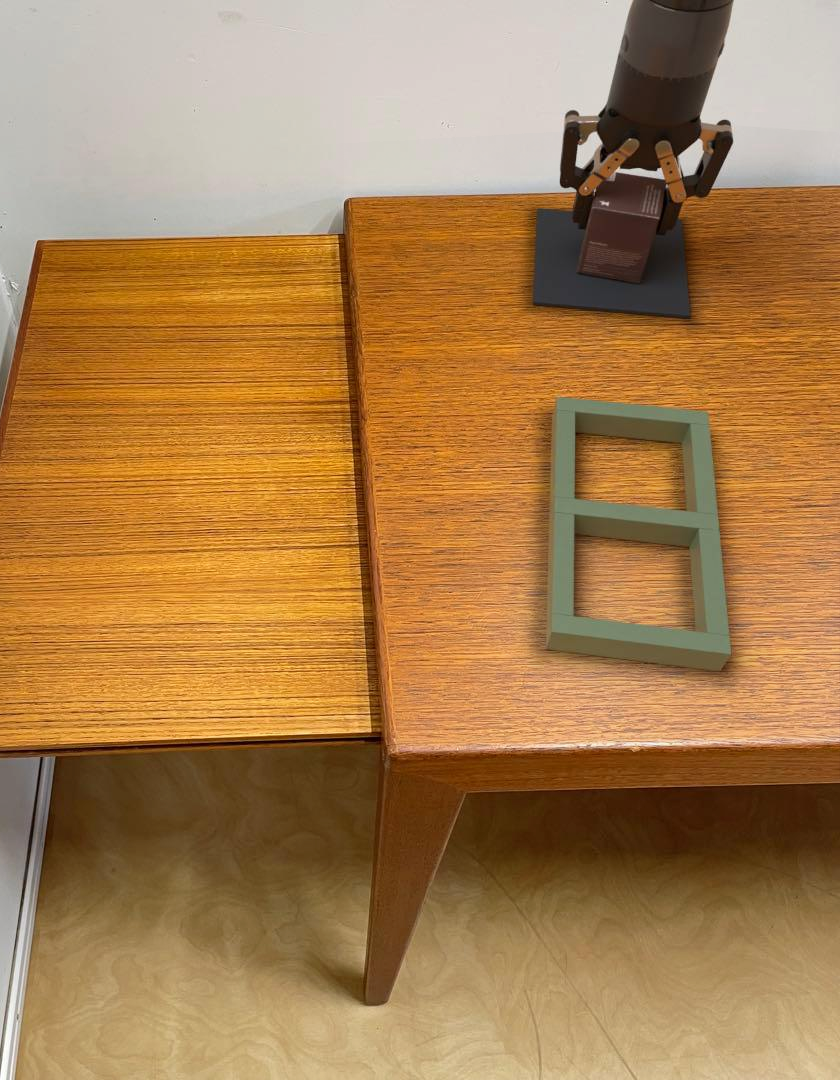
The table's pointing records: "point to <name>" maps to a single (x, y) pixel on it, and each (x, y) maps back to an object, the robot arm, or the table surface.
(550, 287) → the mat
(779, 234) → the table surface
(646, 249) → the box
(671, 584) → the table surface
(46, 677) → the table surface
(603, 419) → the rack
